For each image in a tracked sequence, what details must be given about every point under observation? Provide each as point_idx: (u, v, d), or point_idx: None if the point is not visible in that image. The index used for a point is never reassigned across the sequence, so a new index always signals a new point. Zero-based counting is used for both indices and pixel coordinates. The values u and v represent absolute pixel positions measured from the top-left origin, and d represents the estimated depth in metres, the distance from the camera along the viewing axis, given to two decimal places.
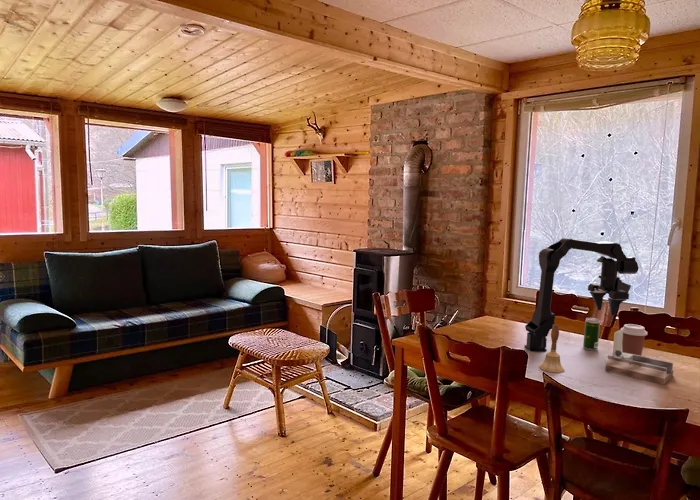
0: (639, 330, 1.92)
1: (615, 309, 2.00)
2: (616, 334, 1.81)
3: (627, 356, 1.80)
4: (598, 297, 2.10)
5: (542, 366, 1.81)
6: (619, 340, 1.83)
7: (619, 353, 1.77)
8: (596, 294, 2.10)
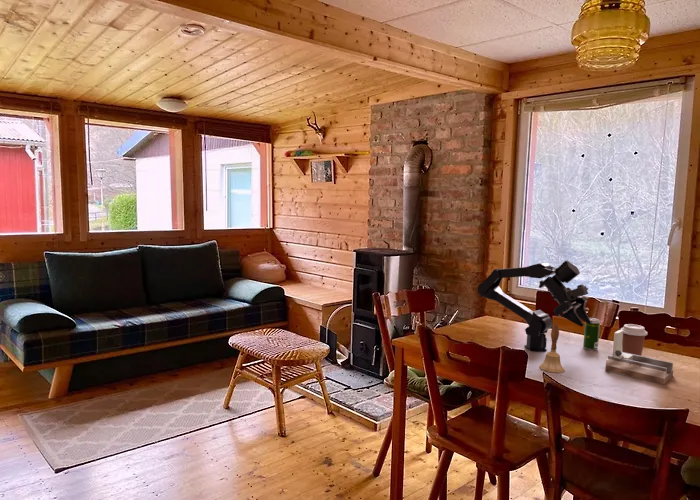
0: (639, 330, 1.92)
1: (577, 320, 1.88)
2: (616, 334, 1.81)
3: (627, 356, 1.80)
4: (578, 312, 1.96)
5: (542, 366, 1.81)
6: (619, 340, 1.83)
7: (619, 353, 1.77)
8: (575, 310, 1.97)
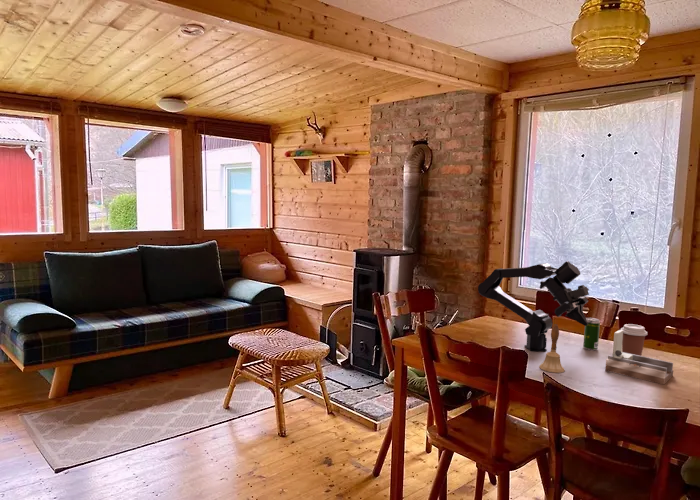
0: (639, 330, 1.92)
1: (581, 319, 1.90)
2: (616, 334, 1.81)
3: (627, 356, 1.80)
4: None
5: (542, 366, 1.81)
6: (619, 340, 1.83)
7: (619, 353, 1.77)
8: None
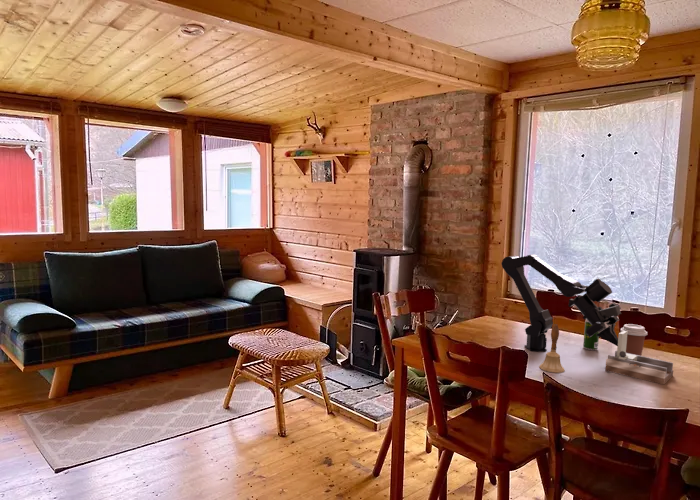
0: (639, 330, 1.92)
1: (613, 339, 1.83)
2: (620, 335, 1.80)
3: (631, 357, 1.79)
4: None
5: (542, 366, 1.81)
6: (624, 340, 1.82)
7: (624, 354, 1.76)
8: None
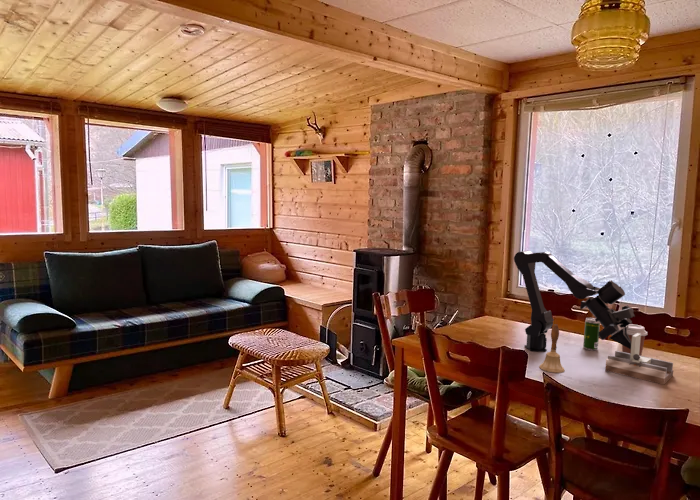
0: (639, 330, 1.92)
1: (626, 342, 1.80)
2: (634, 337, 1.77)
3: (645, 360, 1.77)
4: None
5: (542, 366, 1.81)
6: (637, 343, 1.79)
7: (637, 357, 1.74)
8: None
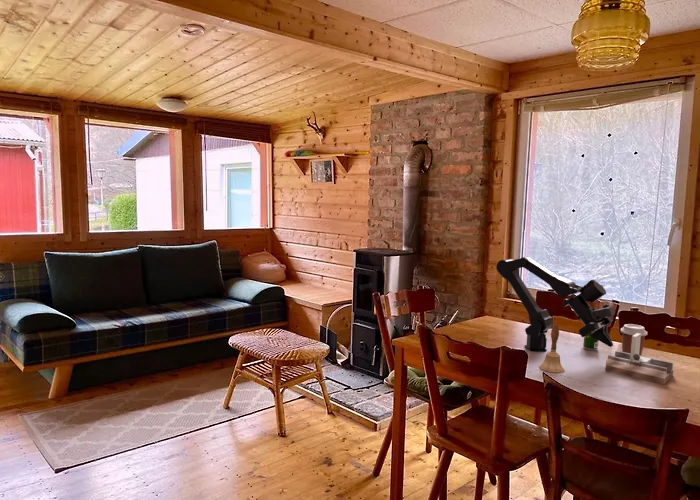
0: (639, 330, 1.92)
1: (606, 340, 1.85)
2: (634, 337, 1.77)
3: (645, 360, 1.77)
4: None
5: (542, 366, 1.81)
6: (637, 343, 1.79)
7: (637, 357, 1.74)
8: None
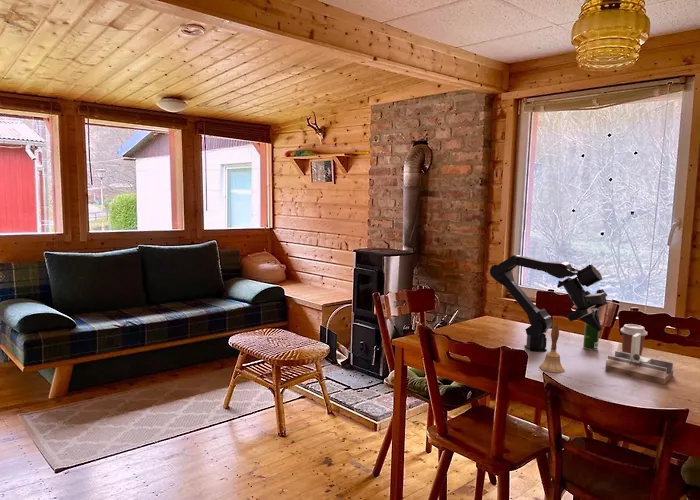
0: (639, 330, 1.92)
1: (595, 325, 1.88)
2: (634, 337, 1.77)
3: (645, 360, 1.77)
4: None
5: (542, 366, 1.81)
6: (637, 343, 1.79)
7: (637, 357, 1.74)
8: None
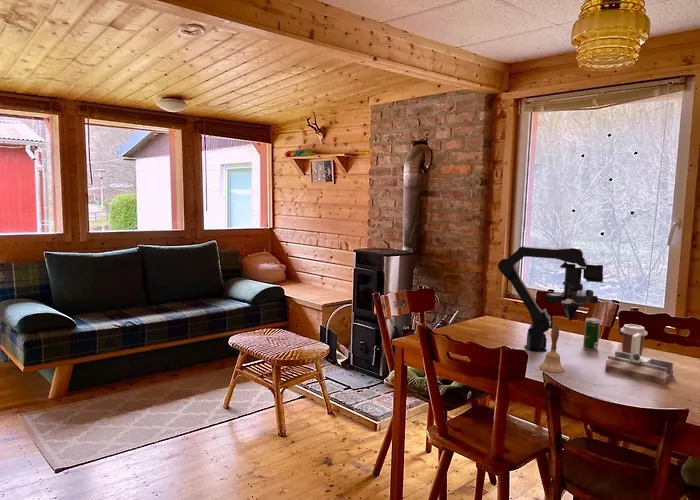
0: (639, 330, 1.92)
1: (567, 314, 1.98)
2: (634, 337, 1.77)
3: (645, 360, 1.77)
4: None
5: (542, 366, 1.81)
6: (637, 343, 1.79)
7: (637, 357, 1.74)
8: (570, 303, 1.99)
